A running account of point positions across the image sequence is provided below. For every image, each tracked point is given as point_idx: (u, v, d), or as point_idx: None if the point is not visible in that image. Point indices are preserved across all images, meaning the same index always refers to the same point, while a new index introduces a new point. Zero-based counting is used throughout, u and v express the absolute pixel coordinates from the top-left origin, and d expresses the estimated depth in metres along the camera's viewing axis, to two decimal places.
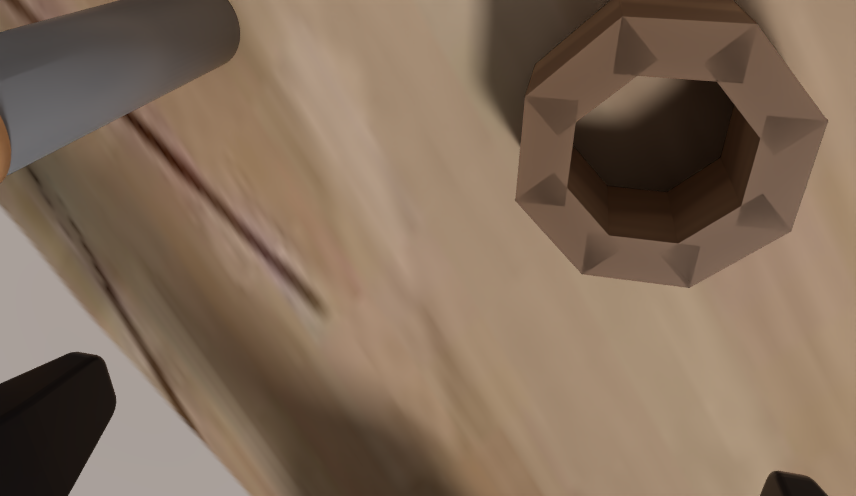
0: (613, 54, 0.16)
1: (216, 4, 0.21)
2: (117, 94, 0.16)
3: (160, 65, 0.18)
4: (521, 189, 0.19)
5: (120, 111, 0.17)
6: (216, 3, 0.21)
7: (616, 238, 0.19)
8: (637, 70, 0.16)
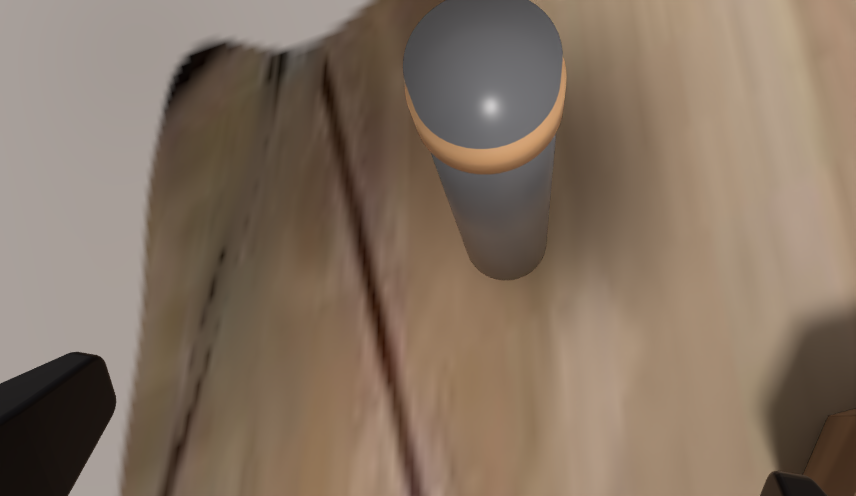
0: None
1: None
2: (539, 204, 0.16)
3: (543, 220, 0.18)
4: None
5: (519, 223, 0.17)
6: None
7: None
8: None
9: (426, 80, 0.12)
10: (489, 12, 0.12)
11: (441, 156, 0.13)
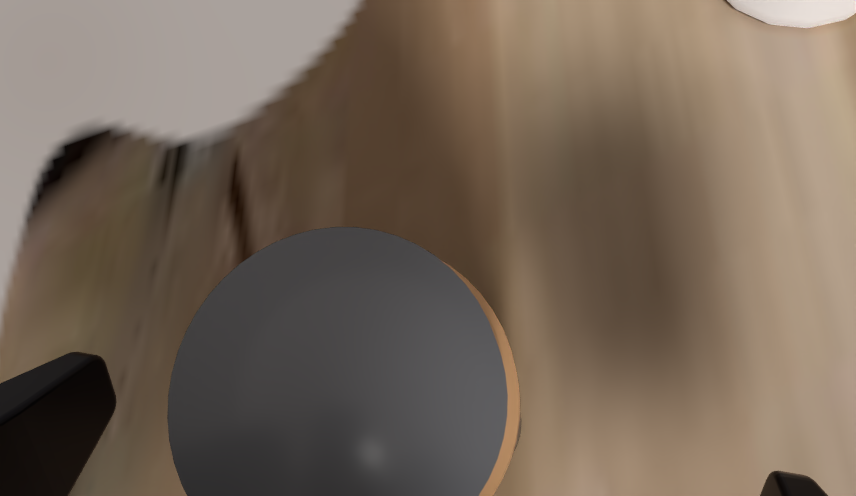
0: None
1: None
2: None
3: None
4: None
5: None
6: None
7: None
8: None
9: (213, 434, 0.05)
10: (354, 280, 0.06)
11: None
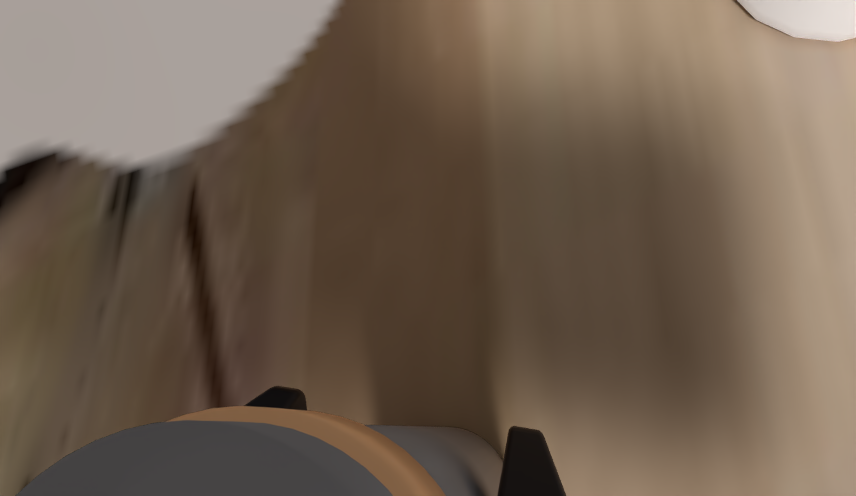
0: None
1: None
2: None
3: None
4: None
5: None
6: None
7: None
8: None
9: None
10: None
11: None
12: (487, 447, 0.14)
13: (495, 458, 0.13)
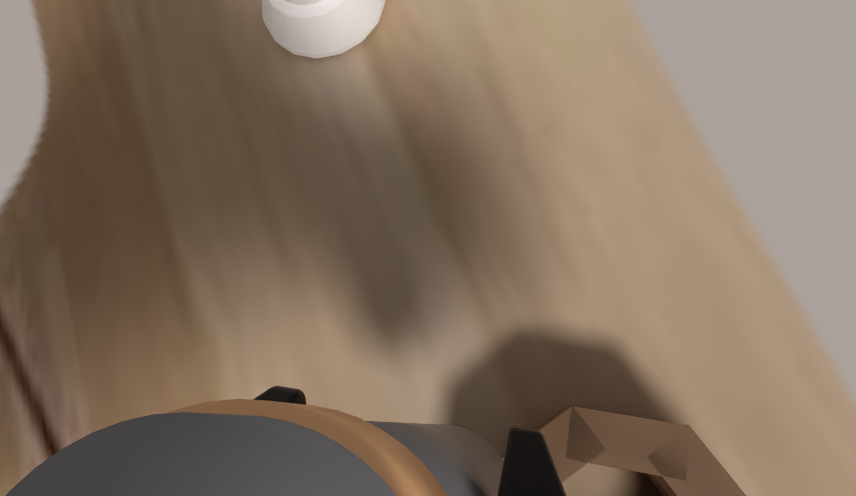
0: (566, 439, 0.18)
1: None
2: None
3: None
4: None
5: None
6: None
7: None
8: (588, 457, 0.18)
9: None
10: None
11: None
12: (486, 445, 0.14)
13: (494, 456, 0.13)
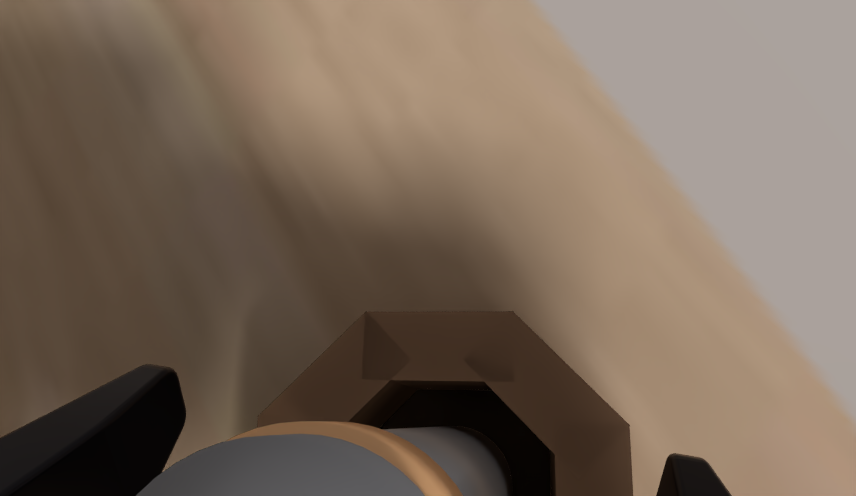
0: (360, 356, 0.14)
1: (510, 478, 0.15)
2: None
3: None
4: None
5: None
6: (510, 477, 0.15)
7: None
8: (389, 373, 0.13)
9: None
10: None
11: None
12: (491, 445, 0.15)
13: (498, 455, 0.14)
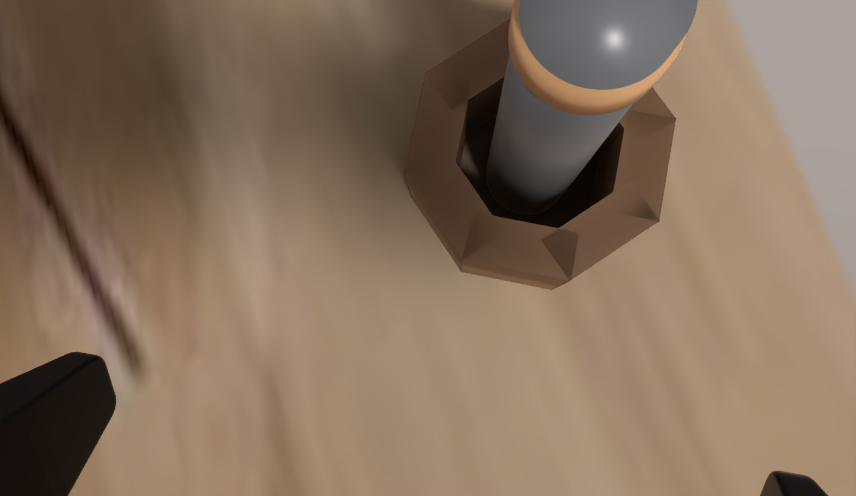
0: (503, 46, 0.19)
1: None
2: (594, 151, 0.16)
3: (585, 164, 0.18)
4: (411, 160, 0.19)
5: (568, 164, 0.16)
6: None
7: (499, 219, 0.19)
8: None
9: (547, 0, 0.11)
10: None
11: (533, 84, 0.12)
12: None
13: None
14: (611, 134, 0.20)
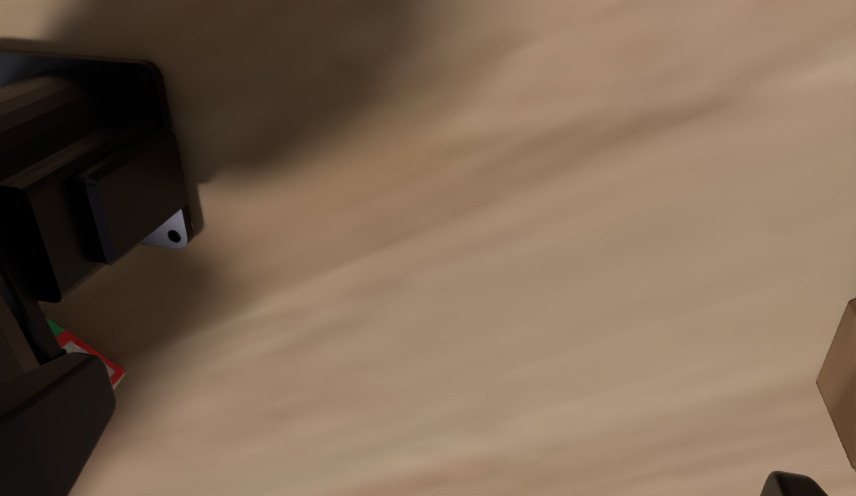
0: None
1: None
2: None
3: None
4: None
5: None
6: None
7: None
8: None
9: None
10: None
11: None
12: None
13: None
14: None
